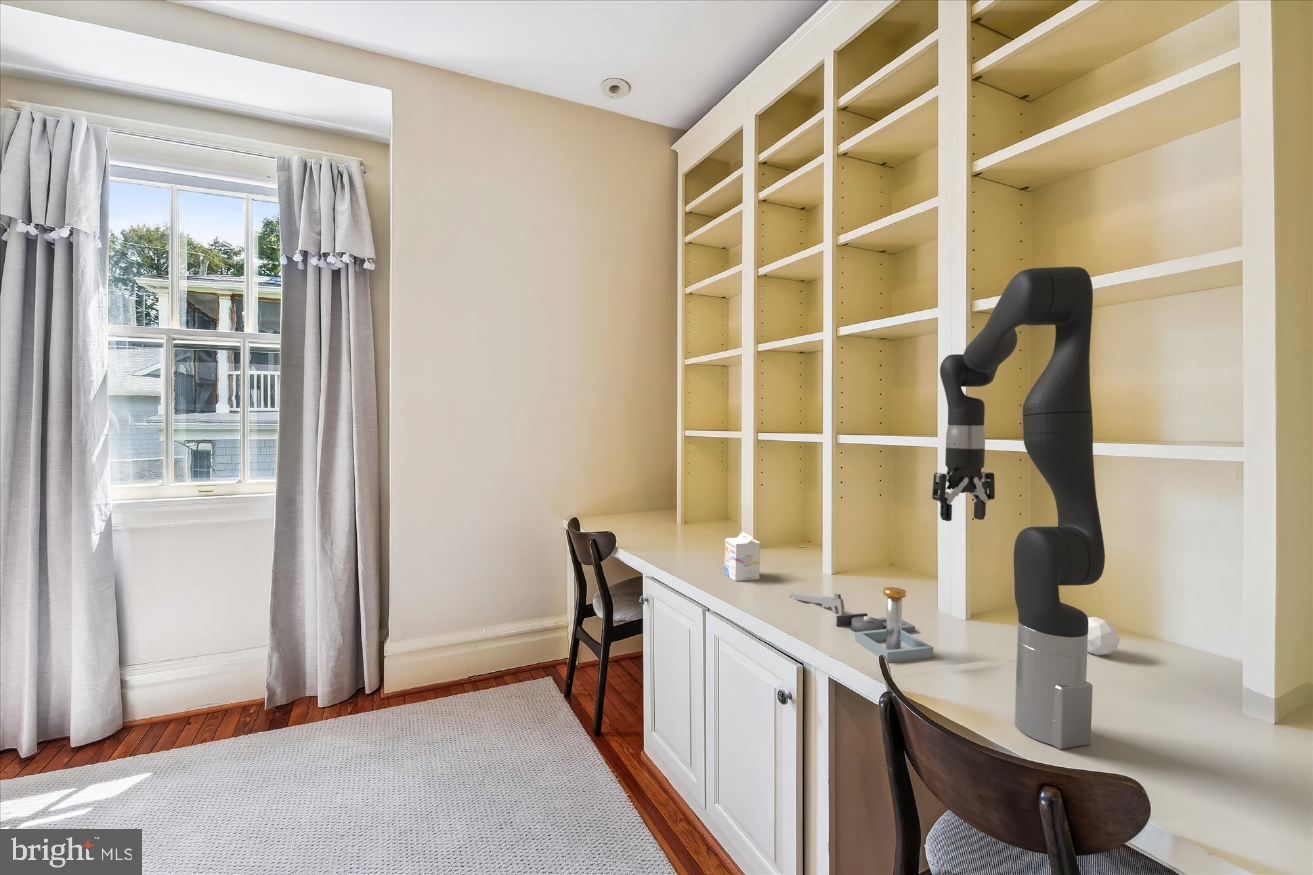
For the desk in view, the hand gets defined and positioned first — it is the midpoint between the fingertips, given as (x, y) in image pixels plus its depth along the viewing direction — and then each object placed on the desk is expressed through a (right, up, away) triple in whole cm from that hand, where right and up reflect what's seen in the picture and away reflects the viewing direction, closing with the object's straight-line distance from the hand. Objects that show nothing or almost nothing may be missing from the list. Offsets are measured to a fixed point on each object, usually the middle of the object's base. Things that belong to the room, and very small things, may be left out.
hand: (962, 519), depth 124 cm
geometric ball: (+28, -29, -2) cm, 40 cm away
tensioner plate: (-15, -28, +8) cm, 32 cm away
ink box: (-40, -26, +54) cm, 72 cm away
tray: (-17, -28, -3) cm, 33 cm away
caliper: (-25, -27, +26) cm, 45 cm away
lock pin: (-17, -28, -3) cm, 32 cm away
